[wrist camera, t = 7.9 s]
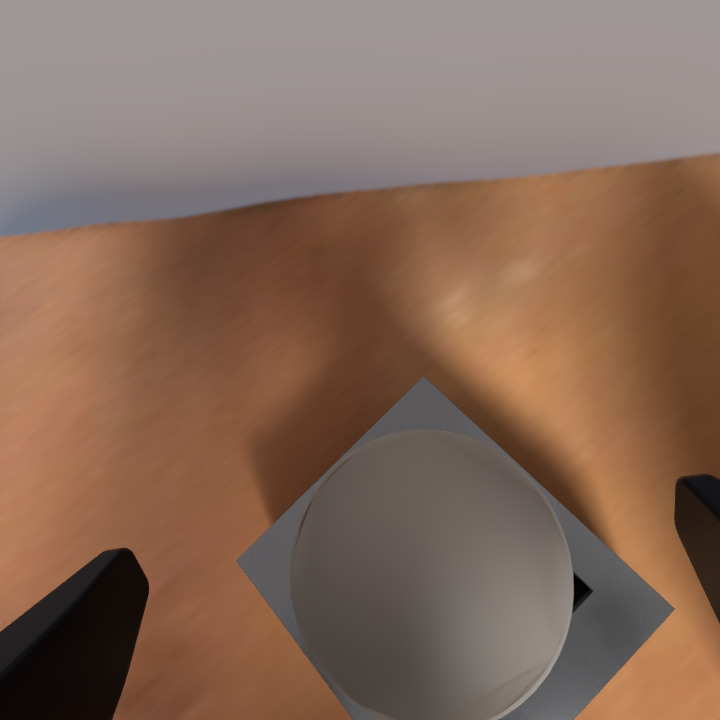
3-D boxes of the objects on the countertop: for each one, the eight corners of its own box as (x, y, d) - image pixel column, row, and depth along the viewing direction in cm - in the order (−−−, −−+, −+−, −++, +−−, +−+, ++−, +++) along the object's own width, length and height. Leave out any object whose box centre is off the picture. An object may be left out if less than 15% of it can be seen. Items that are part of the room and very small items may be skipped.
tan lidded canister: (533, 579, 19) (638, 578, 8) (444, 672, 19) (422, 814, 7) (444, 487, 21) (426, 379, 10) (360, 568, 21) (238, 555, 9)
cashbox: (633, 590, 19) (678, 605, 15) (456, 780, 18) (451, 852, 14) (435, 403, 23) (426, 373, 18) (281, 556, 22) (236, 560, 18)
